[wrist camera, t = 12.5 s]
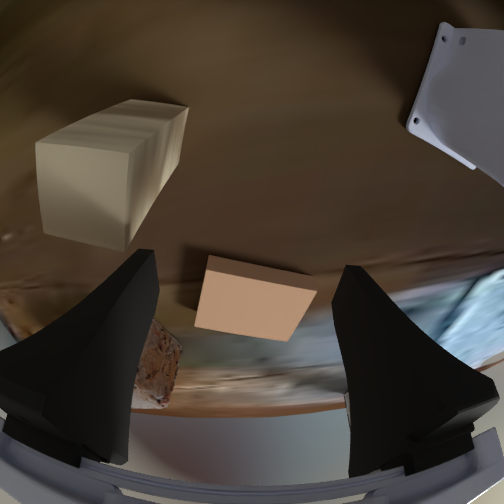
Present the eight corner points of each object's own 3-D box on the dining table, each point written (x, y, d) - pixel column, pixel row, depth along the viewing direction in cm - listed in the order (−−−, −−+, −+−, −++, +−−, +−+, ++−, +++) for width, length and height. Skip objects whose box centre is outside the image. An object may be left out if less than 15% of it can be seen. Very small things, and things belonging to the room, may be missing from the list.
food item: (109, 363, 34) (92, 425, 26) (69, 328, 30) (42, 393, 22) (189, 348, 31) (178, 428, 23) (146, 304, 27) (120, 393, 19)
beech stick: (131, 99, 16) (35, 142, 8) (189, 107, 16) (129, 153, 8) (124, 154, 18) (43, 232, 10) (178, 163, 18) (125, 252, 10)
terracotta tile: (206, 269, 22) (194, 326, 26) (317, 291, 23) (287, 341, 27) (209, 251, 23) (197, 308, 27) (312, 273, 25) (285, 323, 29)
